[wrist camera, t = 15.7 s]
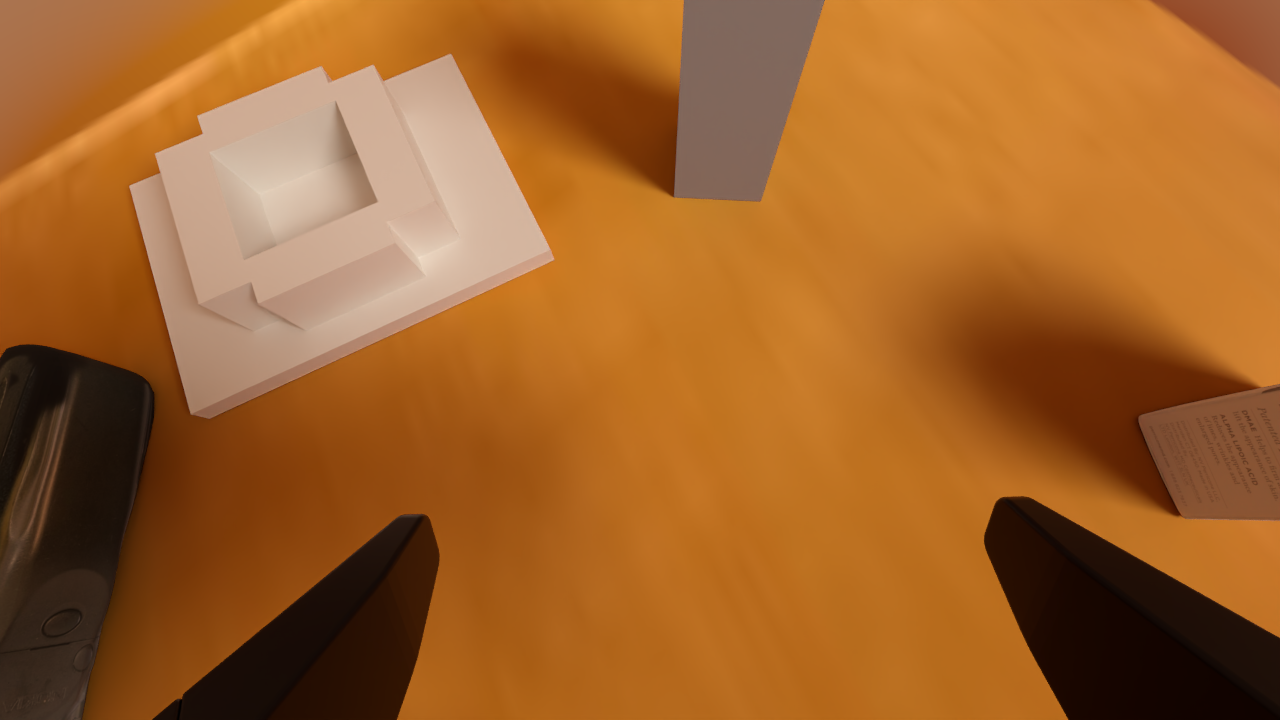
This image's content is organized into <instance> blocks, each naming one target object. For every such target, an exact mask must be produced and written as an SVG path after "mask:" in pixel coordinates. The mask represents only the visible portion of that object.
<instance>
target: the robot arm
mask: <svg viewBox="0 0 1280 720" xmlns="http://www.w3.org/2000/svg"><path fill="white" fill-rule="evenodd" d="M984 544H985V548H986V551H987V554H988V556H989V559H990V561H991V563H992V565H993V568H994V570H995V572H996V575H997V577H998V579H999V582H1000V584H1001V586H1002V589H1003V591H1004V593H1005V596H1006V598H1007V600H1008V602H1009V605H1010V607H1011V609H1012V612H1013V614H1014V616H1015V619H1016V621H1017V623H1018V626H1019V628H1020V630H1021V632H1022V634H1023V637H1024V639H1025V641H1026V643H1027V645H1028V647H1029V649H1030V651H1031V653H1032V654H1033V656H1034V658H1035V660H1036V662H1037V664H1038V666H1039V667H1040V669H1041V671H1042V673H1043V675H1044V676H1045V678H1046V680H1047V682H1048V684H1049V685H1050V687H1051V689H1052V691H1053V693H1054V694H1055V696H1056V698H1057V700H1058V702H1059V704H1060V705H1061V707H1062V709H1063V711H1064V713H1065V714H1066V716H1067V718H1068V720H1280V638H1279V637H1277V636H1275V635H1274V634H1272V633H1270V632H1268V631H1266V630H1265V629H1263V628H1261V627H1259V626H1258V625H1256V624H1254V623H1252V622H1250V621H1249V620H1247V619H1245V618H1243V617H1242V616H1240V615H1238V614H1236V613H1234V612H1233V611H1231V610H1229V609H1227V608H1226V607H1224V606H1222V605H1220V604H1218V603H1217V602H1215V601H1213V600H1211V599H1210V598H1208V597H1206V596H1204V595H1202V594H1201V593H1199V592H1197V591H1195V590H1194V589H1192V588H1190V587H1188V586H1186V585H1185V584H1183V583H1181V582H1179V581H1178V580H1176V579H1174V578H1172V577H1170V576H1169V575H1167V574H1165V573H1163V572H1162V571H1160V570H1158V569H1156V568H1154V567H1153V566H1151V565H1149V564H1147V563H1146V562H1144V561H1142V560H1140V559H1138V558H1137V557H1135V556H1133V555H1131V554H1130V553H1128V552H1126V551H1124V550H1122V549H1121V548H1119V547H1117V546H1115V545H1114V544H1112V543H1110V542H1108V541H1106V540H1105V539H1103V538H1101V537H1099V536H1098V535H1096V534H1094V533H1092V532H1090V531H1089V530H1087V529H1085V528H1083V527H1082V526H1080V525H1078V524H1076V523H1074V522H1073V521H1071V520H1069V519H1067V518H1066V517H1064V516H1062V515H1060V514H1058V513H1057V512H1055V511H1053V510H1051V509H1050V508H1048V507H1046V506H1044V505H1042V504H1041V503H1039V502H1037V501H1035V500H1034V499H1032V498H1029V497H1024V496H1020V497H1002V498H1000V499H998V500H997V501H996V503H995V505H994V508H993V511H992V514H991V517H990V520H989V523H988V526H987V529H986V532H985V535H984ZM438 566H439V549H438V545H437V542H436V539H435V535H434V532H433V528H432V525H431V522H430V519H429V518H428V516H427V515H424V514H406V515H401V516H399V517H397V518H396V519H395V520H393V521H392V522H391V523H390V524H389V525H387V526H386V527H385V528H384V529H383V530H381V531H380V532H379V533H378V534H376V535H375V536H374V537H373V538H372V539H370V540H369V541H368V542H367V543H366V544H364V545H363V546H362V547H361V548H360V549H358V550H357V551H356V552H355V553H353V554H352V555H351V556H350V557H349V558H347V559H346V560H345V561H344V562H343V563H341V564H340V565H339V566H338V567H337V568H335V569H334V570H333V571H332V572H330V573H329V574H328V575H327V576H326V577H324V578H323V579H322V580H321V581H320V582H318V583H317V584H316V585H315V586H314V587H312V588H311V589H310V590H309V591H307V592H306V593H305V594H304V595H303V596H301V597H300V598H299V599H298V600H297V601H295V602H294V603H293V604H292V605H290V606H289V607H288V608H287V609H286V610H284V611H283V612H282V613H281V614H280V615H278V616H277V617H276V618H275V619H274V620H272V621H271V622H270V623H269V624H267V625H266V626H265V627H264V628H263V629H261V630H260V631H259V632H258V633H257V634H255V635H254V636H253V637H252V638H251V639H249V640H248V641H247V642H246V643H244V644H243V645H242V646H241V647H240V648H238V649H237V650H236V651H235V652H234V653H232V654H231V655H230V656H229V657H227V658H226V659H225V660H224V661H223V662H221V663H220V664H219V665H218V666H217V667H215V668H214V669H213V670H212V671H211V672H209V673H208V674H207V675H206V676H204V677H203V678H202V679H201V680H200V681H198V682H197V683H196V684H195V685H194V686H192V687H191V688H190V689H189V690H188V691H186V692H185V693H184V694H183V697H182V699H177V700H175V701H174V702H173V703H171V704H170V705H169V706H168V707H167V708H165V709H164V710H163V711H162V712H161V713H159V714H158V715H157V716H156V717H155V718H153V719H152V720H397V718H398V715H399V712H400V709H401V706H402V703H403V700H404V697H405V694H406V691H407V688H408V686H409V683H410V680H411V677H412V674H413V671H414V667H415V664H416V661H417V657H418V653H419V650H420V646H421V641H422V637H423V633H424V628H425V624H426V619H427V615H428V611H429V606H430V602H431V597H432V593H433V589H434V584H435V580H436V575H437V571H438Z"/></svg>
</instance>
